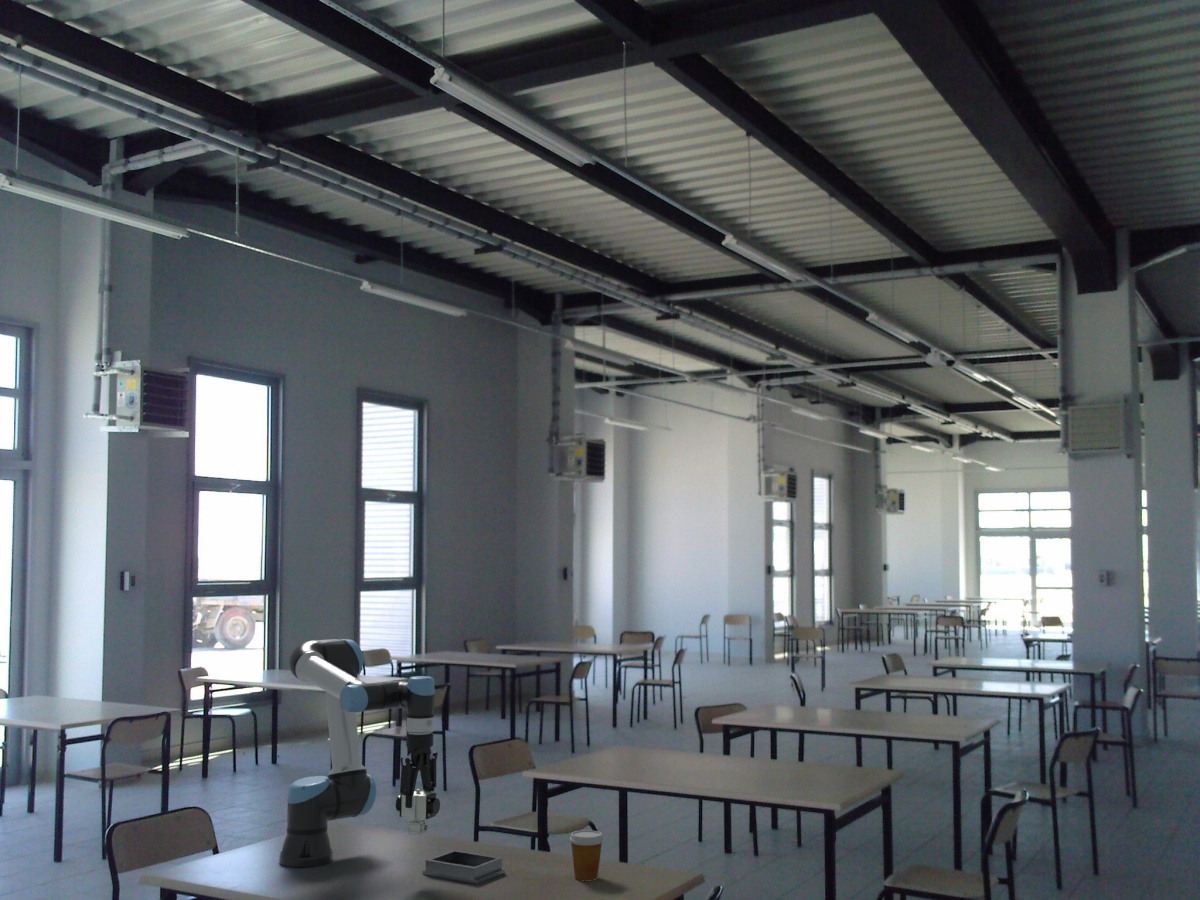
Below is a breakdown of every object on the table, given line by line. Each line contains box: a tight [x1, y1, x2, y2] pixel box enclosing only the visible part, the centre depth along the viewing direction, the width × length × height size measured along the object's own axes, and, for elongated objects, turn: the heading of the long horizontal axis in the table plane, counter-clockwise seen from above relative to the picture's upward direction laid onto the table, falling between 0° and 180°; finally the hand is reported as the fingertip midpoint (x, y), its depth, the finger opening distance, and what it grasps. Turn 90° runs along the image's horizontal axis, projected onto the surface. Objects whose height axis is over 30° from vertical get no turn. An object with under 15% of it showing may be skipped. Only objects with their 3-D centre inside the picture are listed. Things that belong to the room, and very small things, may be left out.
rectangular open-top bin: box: [422, 849, 505, 885], centre depth 302 cm, size 19×13×4 cm
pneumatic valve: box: [395, 788, 441, 836], centre depth 299 cm, size 6×12×12 cm, turn 70°
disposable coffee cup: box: [569, 829, 604, 881], centre depth 299 cm, size 10×10×12 cm
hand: (417, 817), depth 299 cm, fingers closed on pneumatic valve, 6 cm apart
